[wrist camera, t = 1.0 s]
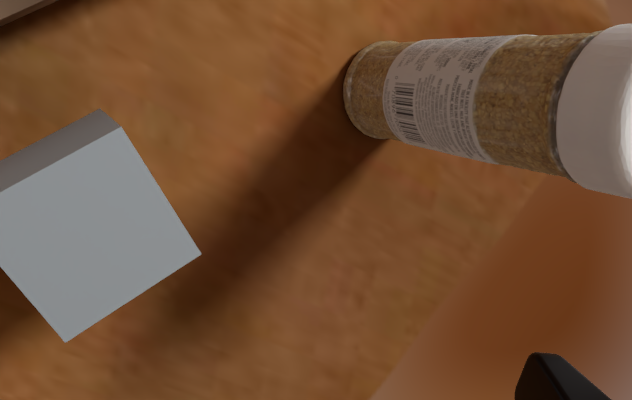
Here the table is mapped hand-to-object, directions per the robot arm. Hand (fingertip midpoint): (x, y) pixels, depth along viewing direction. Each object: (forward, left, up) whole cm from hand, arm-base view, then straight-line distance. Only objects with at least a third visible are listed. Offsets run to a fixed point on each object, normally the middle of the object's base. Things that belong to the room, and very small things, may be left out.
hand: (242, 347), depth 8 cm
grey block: (-2, 0, -14) cm, 14 cm away
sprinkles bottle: (+12, -3, -14) cm, 19 cm away
